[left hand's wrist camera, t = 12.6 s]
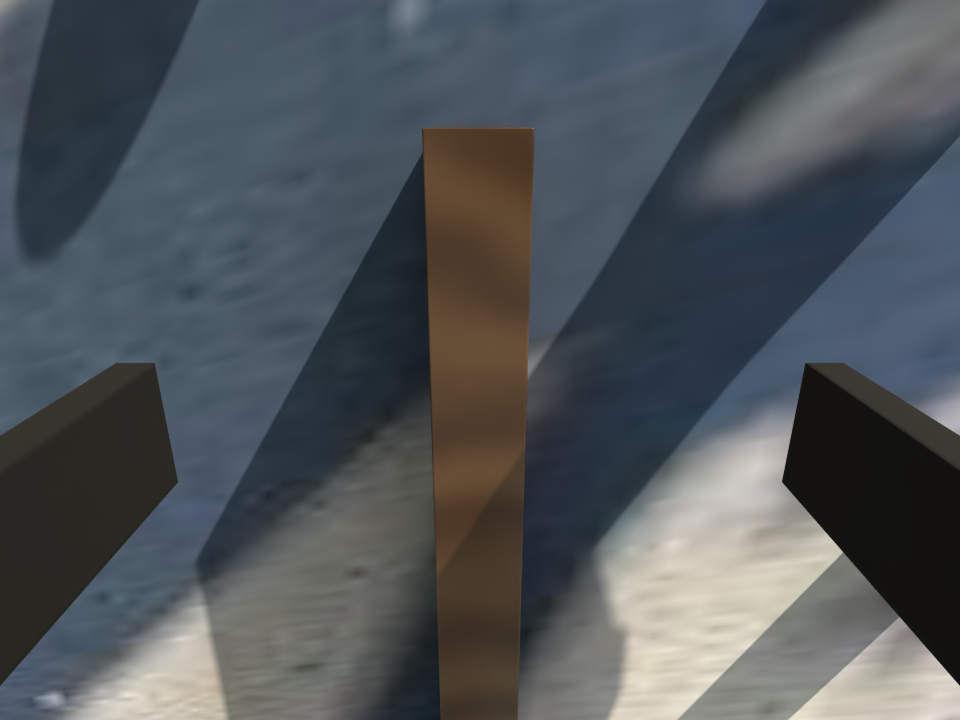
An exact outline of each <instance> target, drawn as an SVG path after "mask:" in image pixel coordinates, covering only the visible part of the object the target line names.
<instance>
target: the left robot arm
mask: <svg viewBox="0 0 960 720" xmlns="http://www.w3.org/2000/svg"><path fill="white" fill-rule="evenodd" d="M177 483H178V480H177V475H176V470H175V464H174V459H173V454H172V449H171V444H170V439H169V434H168V429H167V424H166V419H165V414H164V409H163V404H162V399H161V394H160V389H159V383H158V378H157V373H156V368H155V363H116V364H114V365H113V366H111V367H110V368H108V369H106V370H105V371H103V372H102V373H100V374H98V375H97V376H95V377H94V378H92V379H90V380H89V381H87V382H86V383H84V384H82V385H81V386H79V387H78V388H76V389H74V390H73V391H71V392H70V393H68V394H66V395H65V396H63V397H62V398H60V399H58V400H57V401H55V402H54V403H52V404H50V405H49V406H47V407H46V408H44V409H42V410H41V411H39V412H38V413H36V414H34V415H33V416H31V417H30V418H28V419H26V420H25V421H23V422H22V423H20V424H18V425H17V426H15V427H14V428H12V429H10V430H9V431H7V432H6V433H4V434H2V435H1V436H0V685H1V684H2V683H3V682H4V681H5V680H6V678H7V677H8V676H9V675H10V674H11V673H12V672H13V670H14V669H15V668H16V667H17V666H18V665H19V664H20V662H21V661H22V660H23V659H24V658H25V657H26V656H27V654H28V653H29V652H30V651H31V650H32V649H33V648H34V646H35V645H36V644H37V643H38V642H39V641H40V639H41V638H42V637H43V636H44V635H45V634H46V633H47V631H48V630H49V629H50V628H51V627H52V626H53V625H54V623H55V622H56V621H57V620H58V619H59V618H60V617H61V615H62V614H63V613H64V612H65V611H66V610H67V609H68V607H69V606H70V605H71V604H72V603H73V602H74V601H75V599H76V598H77V597H78V596H79V595H80V594H81V593H82V591H83V590H84V589H85V588H86V587H87V586H88V584H89V583H90V582H91V581H92V580H93V579H94V578H95V576H96V575H97V574H98V573H99V572H100V571H101V570H102V568H103V567H104V566H105V565H106V564H107V563H108V562H109V560H110V559H111V558H112V557H113V556H114V555H115V554H116V552H117V551H118V550H119V549H120V548H121V547H122V546H123V544H124V543H125V542H126V541H127V540H128V539H129V538H130V536H131V535H132V534H133V533H134V532H135V531H136V529H137V528H138V527H139V526H140V525H141V524H142V523H143V521H144V520H145V519H146V518H147V517H148V516H149V515H150V513H151V512H152V511H153V510H154V509H155V508H156V507H157V505H158V504H159V503H160V502H161V501H162V500H163V499H164V497H165V496H166V495H167V494H168V493H169V492H170V491H171V489H172V488H173V487H174V486H175V485H176V484H177ZM782 483H783V484H784V485H785V486H786V487H787V488H788V489H789V491H790V492H791V493H792V494H793V495H794V496H795V497H796V499H797V500H798V501H799V502H800V503H801V504H802V505H803V507H804V508H805V509H806V510H807V511H808V512H809V513H810V515H811V516H812V517H813V518H814V519H815V520H816V521H817V523H818V524H819V525H820V526H821V527H822V528H823V529H824V531H825V532H826V533H827V534H828V535H829V536H830V538H831V539H832V540H833V541H834V542H835V543H836V544H837V546H838V547H839V548H840V549H841V550H842V551H843V552H844V554H845V555H846V556H847V557H848V558H849V559H850V560H851V562H852V563H853V564H854V565H855V566H856V567H857V568H858V570H859V571H860V572H861V573H862V574H863V575H864V576H865V578H866V579H867V580H868V581H869V582H870V583H871V584H872V586H873V587H874V588H875V589H876V590H877V591H878V593H879V594H880V595H881V596H882V597H883V598H884V599H885V601H886V602H887V603H888V604H889V605H890V606H891V607H892V609H893V610H894V611H895V612H896V613H897V614H898V615H899V617H900V618H901V619H902V620H903V621H904V622H905V623H906V625H907V626H908V627H909V628H910V629H911V630H912V631H913V633H914V634H915V635H916V636H917V637H918V638H919V639H920V641H921V642H922V643H923V644H924V645H925V646H926V648H927V649H928V650H929V651H930V652H931V653H932V654H933V656H934V657H935V658H936V659H937V660H938V661H939V662H940V664H941V665H942V666H943V667H944V668H945V669H946V670H947V672H948V673H949V674H950V675H951V676H952V677H953V678H954V680H955V681H956V682H957V683H958V684H959V685H960V436H959V435H958V434H956V433H954V432H953V431H951V430H950V429H948V428H946V427H945V426H943V425H942V424H940V423H938V422H937V421H935V420H934V419H932V418H930V417H929V416H927V415H926V414H924V413H922V412H921V411H919V410H918V409H916V408H914V407H913V406H911V405H910V404H908V403H906V402H905V401H903V400H902V399H900V398H898V397H897V396H895V395H894V394H892V393H890V392H889V391H887V390H886V389H884V388H882V387H881V386H879V385H878V384H876V383H874V382H873V381H871V380H870V379H868V378H866V377H865V376H863V375H862V374H860V373H858V372H857V371H855V370H854V369H852V368H850V367H849V366H847V365H846V364H844V363H805V368H804V373H803V378H802V383H801V389H800V394H799V399H798V404H797V409H796V414H795V419H794V424H793V429H792V434H791V439H790V444H789V449H788V454H787V459H786V464H785V470H784V475H783V480H782Z"/></svg>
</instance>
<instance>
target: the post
mask: <svg viewBox="0 0 960 720" xmlns="http://www.w3.org/2000/svg"><path fill="white" fill-rule="evenodd" d="M422 137H423V169H424V201H425V234H426V266H427V298H428V330H429V362H430V394H431V426H432V458H433V490H434V522H435V554H436V586H437V618H438V650H439V682H440V714H441V720H518V685H519V650H520V615H521V580H522V545H523V510H524V474H525V439H526V404H527V369H528V334H529V299H530V264H531V229H532V194H533V159H534V128H533V127H424V128H423V129H422Z"/></svg>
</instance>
